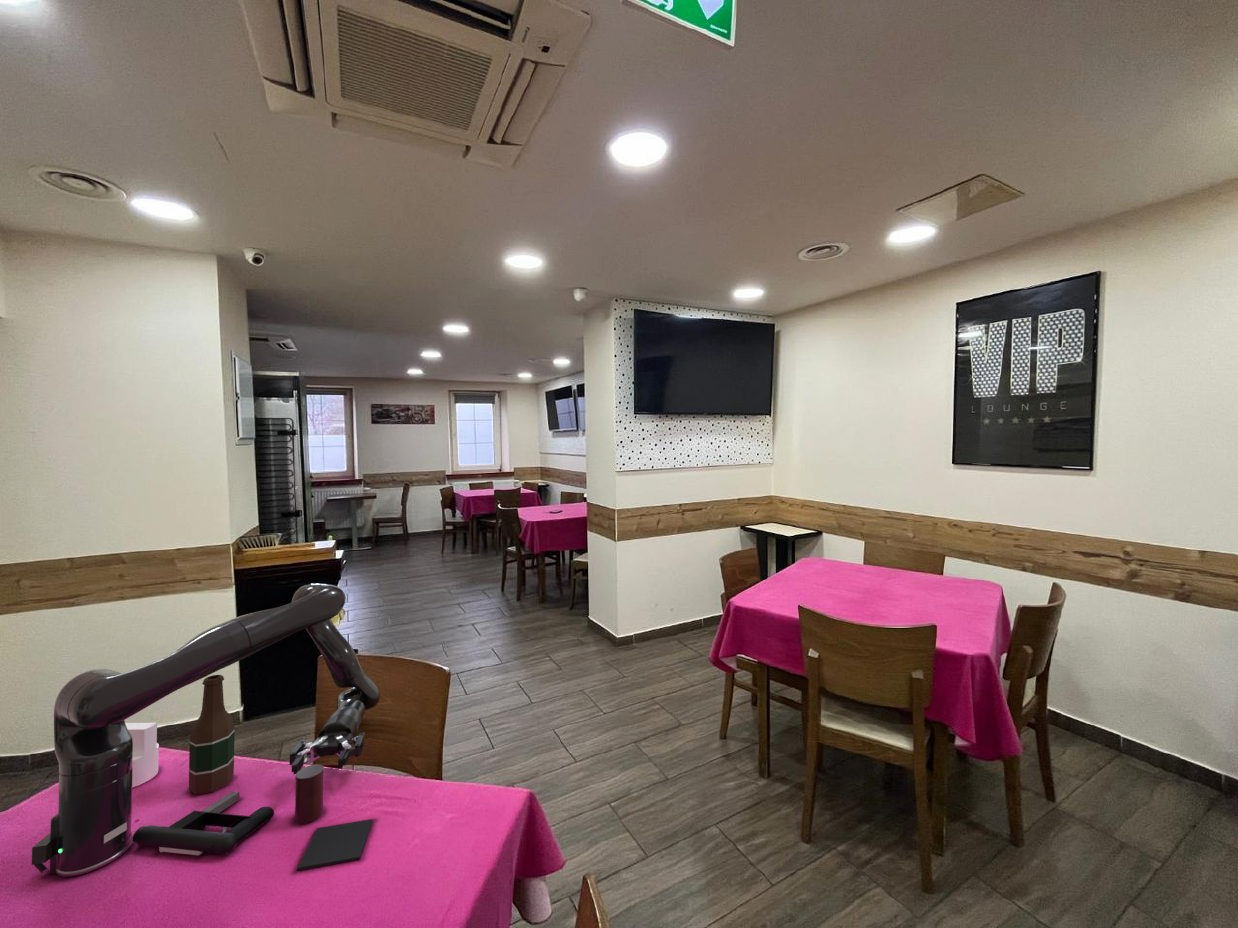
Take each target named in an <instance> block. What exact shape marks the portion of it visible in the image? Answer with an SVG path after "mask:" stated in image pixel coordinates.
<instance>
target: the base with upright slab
mask: <svg viewBox="0 0 1238 928" xmlns="http://www.w3.org/2000/svg"><path fill="white" fill-rule="evenodd" d="M125 724H126V727H127V729H128V731H129V732H130V734H131V736H132V738H133V766H132V767H133V770H132V789H133V788H135V787H138V786H141V785H143V784H145V783H147V782H148V781H150V780H152V779H153V778H154V777H156V776H157V775H158V773H159V761H160V759H159V757H160V754H159V753H160V744H159V742H157V741H158V722H125Z"/></svg>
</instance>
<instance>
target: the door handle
mask: <svg viewBox="0 0 1238 928" xmlns="http://www.w3.org/2000/svg"><path fill="white" fill-rule="evenodd" d="M239 800H240V791H235V790H234V791H233V790H232V791H231V792H229V793H228V794H226V795H224V796H223V797H221V798H220V799H218V800H217V801H215V802H213V803H212V804H210V805H209V806H207V807H206V808H204V809H203V810H193V811H192V812H189V813H188V814H187V815H185V816H184V817H182V818H180V819H179V820H177V821H176V822H174V823H172V824H171V825H170V826H162V825H143V826H139V828H137V829H136V831H134V834H133V835H132V845H134V844H136V845H138V846H145V847H154V848H158V852H159V853H172V854H173V853H174V854H181V855H191V856H201V855H202V854H203V853H208V854H209V855H211V854H217V855H218V854H219V855H226V854H228V853H230V852H231V851H233V850H234V849H235V848H236V846H237V845H238V844H239V843H241V842H242V841H243V840H244V839H246V838H247V837H248V836H250V835H251V834H252V833H253V832H255V831H256V830H258V828H259V829H260V827H261V826H263V825H265V823H267V822H268V821H270V820H271V818H273V816H274V815H275V810H274V809H273V808H272V807H271V806H262V807H260V808H257V810H255V811H253V812H252V813H251V814H249V815H242V814H233V813H232V814H231V813H222V812H223V811H225V810H227V809H228V808H230V807H231V806H232V805H234V804H235V803H236V802H239ZM206 826H209V827H219V828H222V831H221V832H220V831H219V832H218V831H211V830H210V831H209V830H203V829H205V828H206ZM229 828H230V829H229ZM228 829H229V830H228Z"/></svg>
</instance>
